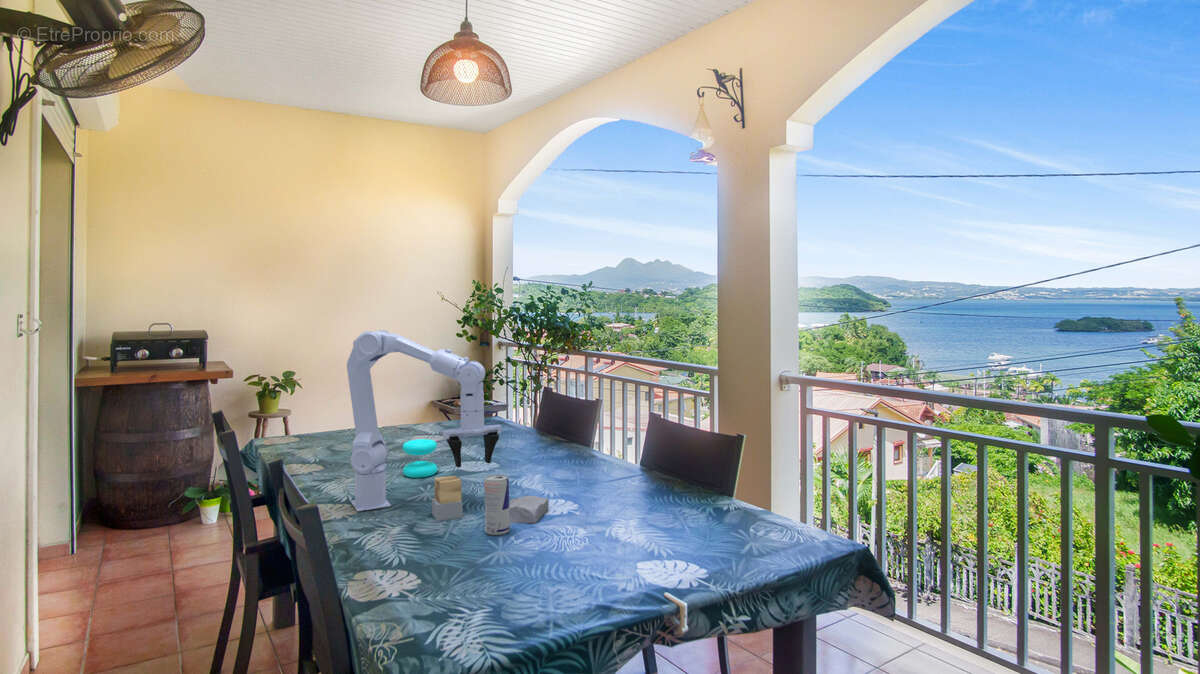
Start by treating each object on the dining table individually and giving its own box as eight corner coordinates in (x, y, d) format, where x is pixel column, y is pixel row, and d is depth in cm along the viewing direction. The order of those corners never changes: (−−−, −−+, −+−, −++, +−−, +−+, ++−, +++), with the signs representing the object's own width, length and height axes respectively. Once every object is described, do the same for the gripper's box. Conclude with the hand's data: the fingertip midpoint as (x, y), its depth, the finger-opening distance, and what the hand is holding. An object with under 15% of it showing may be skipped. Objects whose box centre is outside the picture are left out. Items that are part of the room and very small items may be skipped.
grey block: (432, 514, 154) (431, 498, 154) (456, 511, 156) (456, 495, 156) (437, 522, 148) (436, 504, 148) (462, 518, 151) (462, 501, 151)
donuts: (408, 438, 197) (440, 438, 196) (409, 470, 197) (441, 470, 197) (397, 445, 187) (431, 444, 186) (398, 479, 187) (432, 478, 187)
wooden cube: (434, 498, 153) (434, 478, 153) (455, 495, 156) (454, 475, 156) (440, 504, 149) (440, 482, 149) (461, 500, 151) (461, 479, 151)
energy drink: (513, 528, 142) (513, 475, 142) (502, 536, 137) (501, 481, 137) (492, 526, 144) (491, 473, 144) (480, 534, 139) (479, 479, 139)
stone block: (497, 530, 147) (538, 524, 145) (493, 510, 147) (534, 503, 145) (514, 516, 159) (552, 510, 157) (510, 497, 159) (548, 491, 157)
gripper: (448, 415, 152) (449, 471, 152) (505, 409, 159) (506, 463, 160) (439, 411, 158) (440, 465, 158) (495, 406, 165) (496, 458, 166)
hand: (473, 464), depth 159 cm, fingers open, 7 cm apart
